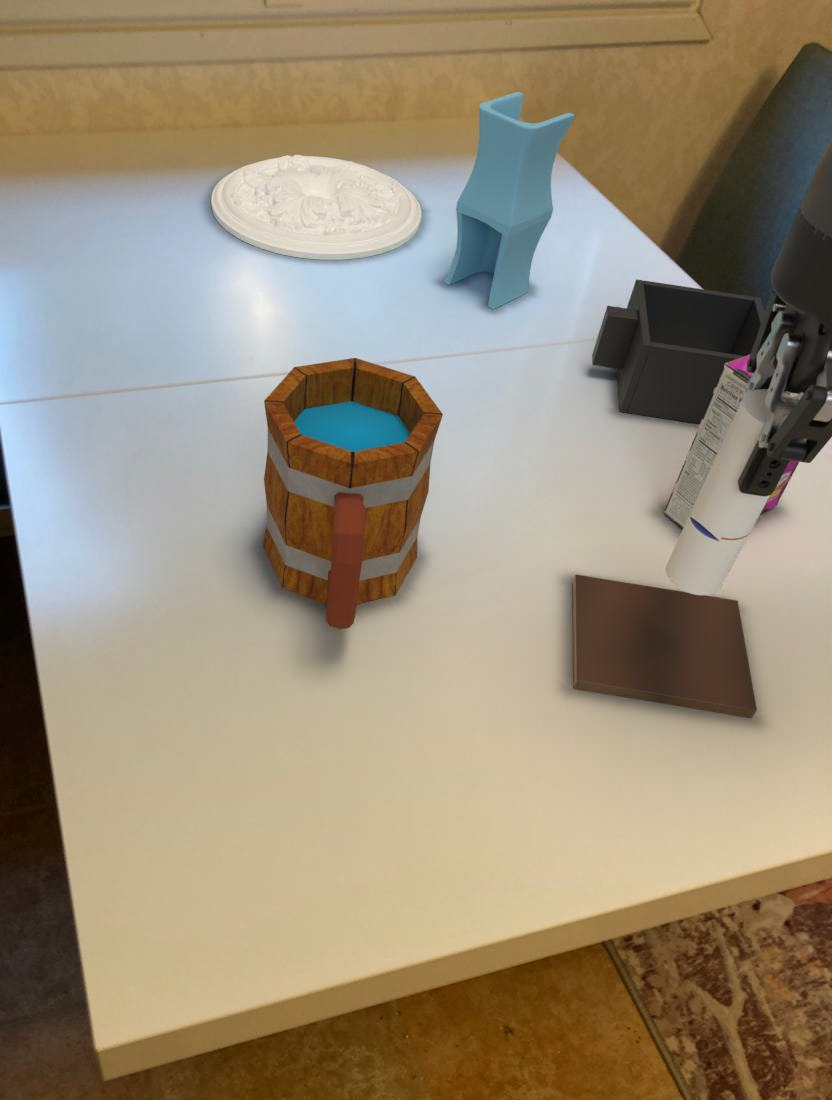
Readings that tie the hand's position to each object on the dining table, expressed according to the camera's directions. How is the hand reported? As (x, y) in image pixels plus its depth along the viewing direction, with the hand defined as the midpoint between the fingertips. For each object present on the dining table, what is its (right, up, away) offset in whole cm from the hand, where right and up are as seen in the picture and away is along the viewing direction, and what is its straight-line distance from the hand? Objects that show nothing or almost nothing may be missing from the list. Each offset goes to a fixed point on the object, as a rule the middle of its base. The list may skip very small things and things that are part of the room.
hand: (748, 467), depth 63 cm
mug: (-28, -6, +16) cm, 33 cm away
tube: (-1, -7, +8) cm, 10 cm away
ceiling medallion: (-31, +46, +62) cm, 83 cm away
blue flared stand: (-10, +32, +52) cm, 61 cm away
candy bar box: (+8, +1, +26) cm, 28 cm away
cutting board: (-2, -12, +14) cm, 19 cm away
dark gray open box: (+8, +17, +40) cm, 44 cm away
